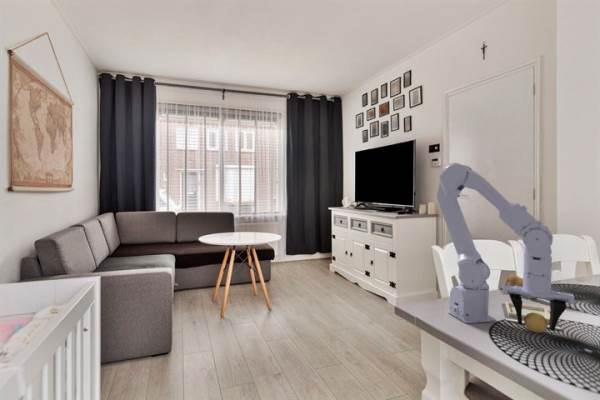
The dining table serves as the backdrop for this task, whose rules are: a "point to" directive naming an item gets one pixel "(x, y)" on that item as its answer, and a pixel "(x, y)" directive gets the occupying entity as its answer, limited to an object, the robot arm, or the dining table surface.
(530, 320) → the ball
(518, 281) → the lion figurine
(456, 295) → the robot arm
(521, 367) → the dining table surface
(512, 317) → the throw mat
